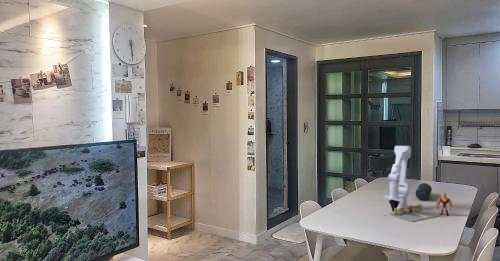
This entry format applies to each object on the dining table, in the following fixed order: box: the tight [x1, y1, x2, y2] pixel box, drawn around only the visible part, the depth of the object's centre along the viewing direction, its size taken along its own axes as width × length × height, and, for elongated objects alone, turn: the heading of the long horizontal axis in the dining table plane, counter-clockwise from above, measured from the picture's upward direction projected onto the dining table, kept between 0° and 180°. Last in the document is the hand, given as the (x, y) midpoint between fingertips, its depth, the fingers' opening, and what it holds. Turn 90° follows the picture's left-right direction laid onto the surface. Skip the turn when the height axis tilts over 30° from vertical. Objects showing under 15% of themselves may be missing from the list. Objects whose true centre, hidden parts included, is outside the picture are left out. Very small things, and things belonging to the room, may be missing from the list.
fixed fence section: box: [412, 203, 422, 212], centre depth 244 cm, size 1×9×4 cm, turn 115°
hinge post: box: [407, 204, 413, 213], centre depth 241 cm, size 2×2×4 cm
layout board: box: [388, 209, 442, 223], centre depth 236 cm, size 19×26×1 cm
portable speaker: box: [415, 182, 433, 201], centre depth 281 cm, size 25×10×10 cm, turn 149°
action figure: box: [436, 192, 453, 217], centre depth 235 cm, size 9×4×15 cm, turn 53°
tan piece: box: [393, 206, 409, 215], centre depth 238 cm, size 13×1×4 cm, turn 115°
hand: (394, 211), depth 240 cm, fingers closed
